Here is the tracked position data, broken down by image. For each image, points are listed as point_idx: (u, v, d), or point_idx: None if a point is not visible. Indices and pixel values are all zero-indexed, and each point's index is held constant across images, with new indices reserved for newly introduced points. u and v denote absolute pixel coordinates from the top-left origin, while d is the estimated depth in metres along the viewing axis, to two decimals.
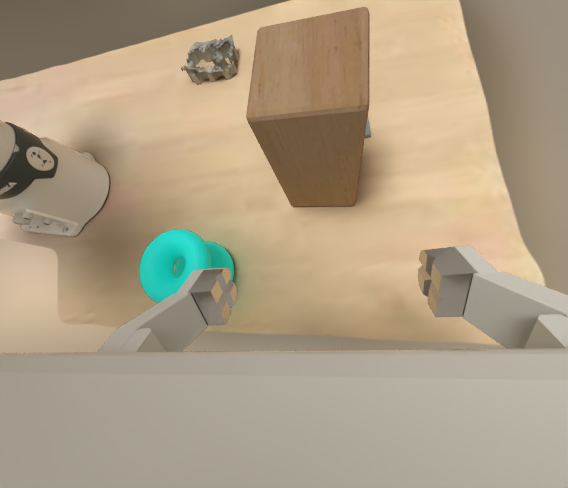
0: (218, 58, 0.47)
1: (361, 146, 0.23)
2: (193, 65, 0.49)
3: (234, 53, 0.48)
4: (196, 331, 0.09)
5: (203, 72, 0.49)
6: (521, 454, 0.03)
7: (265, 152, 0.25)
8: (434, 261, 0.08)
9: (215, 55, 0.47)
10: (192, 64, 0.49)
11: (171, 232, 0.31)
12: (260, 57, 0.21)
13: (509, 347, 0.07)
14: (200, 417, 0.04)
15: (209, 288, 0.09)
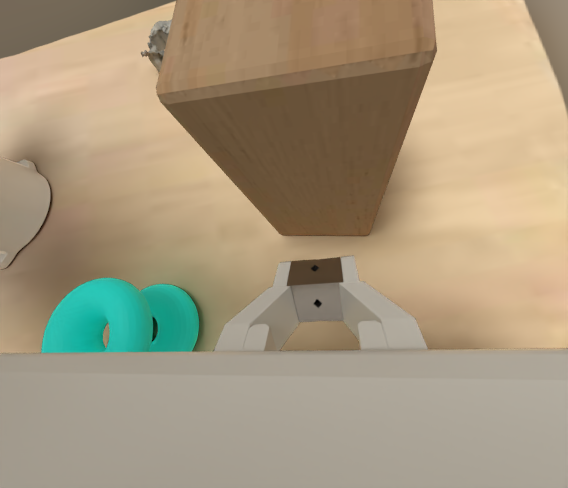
0: None
1: (397, 153, 0.12)
2: (157, 50, 0.39)
3: None
4: (291, 328, 0.09)
5: None
6: (521, 454, 0.03)
7: (219, 164, 0.14)
8: (317, 270, 0.09)
9: None
10: (156, 49, 0.39)
11: (91, 284, 0.20)
12: None
13: None
14: (200, 417, 0.04)
15: (310, 281, 0.08)
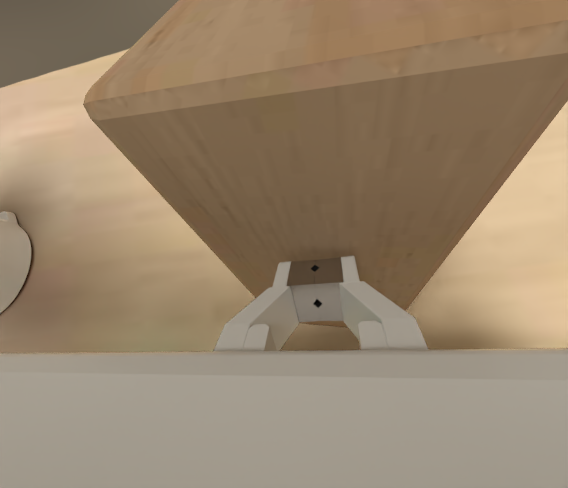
0: None
1: (466, 227, 0.07)
2: None
3: None
4: (291, 328, 0.09)
5: None
6: (521, 454, 0.03)
7: (192, 226, 0.09)
8: (317, 270, 0.09)
9: None
10: None
11: None
12: None
13: None
14: (200, 417, 0.04)
15: (310, 281, 0.08)
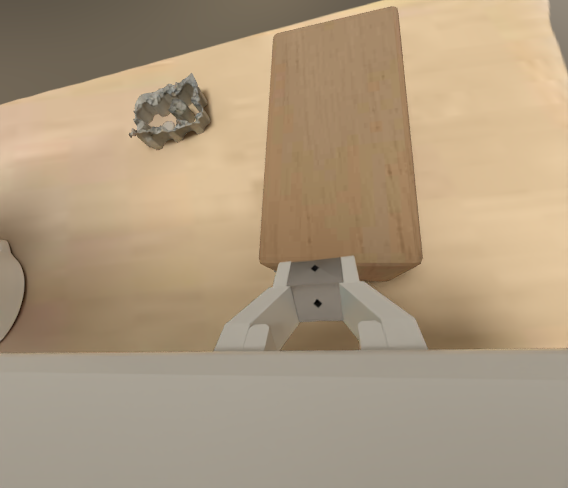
0: (180, 109, 0.32)
1: (401, 58, 0.17)
2: (145, 125, 0.34)
3: (200, 97, 0.33)
4: (291, 328, 0.09)
5: (162, 132, 0.33)
6: (521, 454, 0.03)
7: (272, 78, 0.19)
8: (317, 270, 0.09)
9: (174, 105, 0.32)
10: (143, 125, 0.34)
11: None
12: None
13: None
14: (200, 417, 0.04)
15: (310, 281, 0.08)
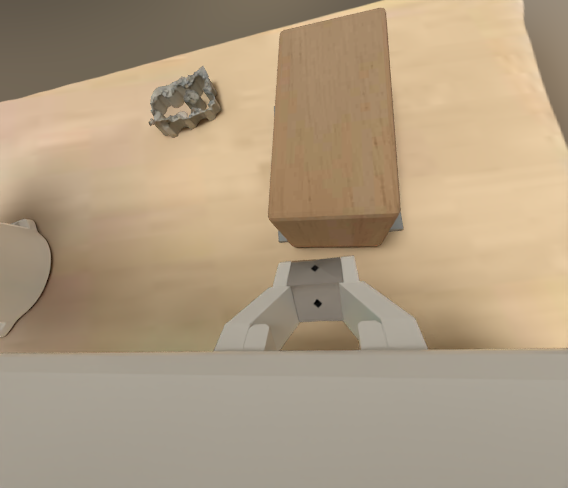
0: (193, 98, 0.36)
1: (387, 51, 0.20)
2: (161, 116, 0.38)
3: (211, 87, 0.37)
4: (291, 328, 0.09)
5: (178, 120, 0.37)
6: (521, 454, 0.03)
7: (279, 68, 0.23)
8: (316, 270, 0.09)
9: (188, 95, 0.36)
10: (160, 115, 0.37)
11: None
12: None
13: None
14: (200, 417, 0.04)
15: (310, 281, 0.08)
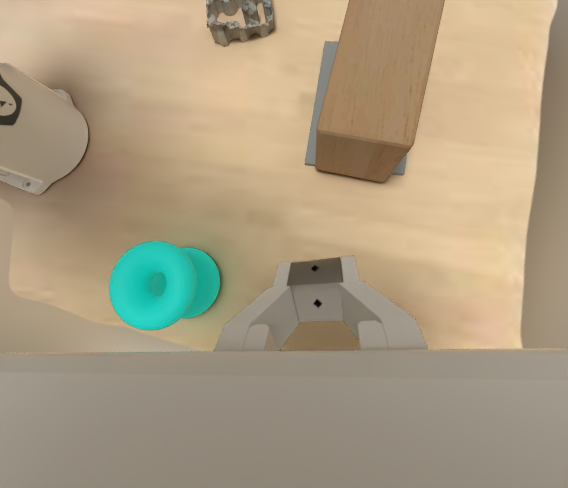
0: (252, 9, 0.37)
1: (440, 16, 0.25)
2: (216, 20, 0.39)
3: None
4: (291, 328, 0.09)
5: (232, 29, 0.38)
6: (521, 454, 0.03)
7: (351, 4, 0.26)
8: (317, 270, 0.09)
9: (247, 5, 0.37)
10: (215, 19, 0.39)
11: (155, 246, 0.26)
12: None
13: None
14: (200, 417, 0.04)
15: (310, 281, 0.08)
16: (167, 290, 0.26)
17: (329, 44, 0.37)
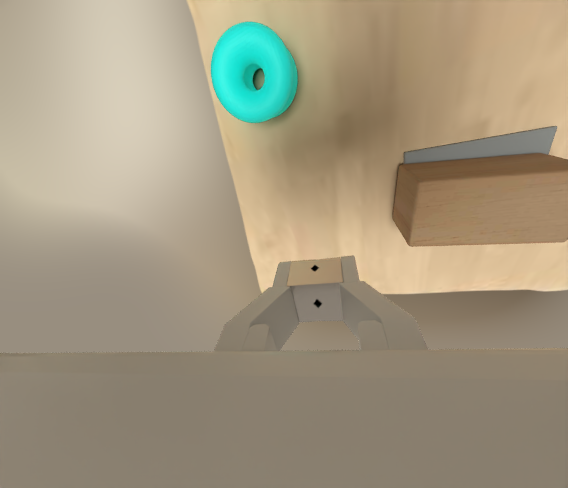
0: None
1: (522, 242, 0.33)
2: None
3: None
4: (291, 328, 0.09)
5: None
6: (521, 454, 0.03)
7: (556, 174, 0.28)
8: (317, 270, 0.09)
9: None
10: None
11: (284, 67, 0.27)
12: None
13: None
14: (200, 417, 0.04)
15: (310, 281, 0.08)
16: (253, 100, 0.29)
17: (551, 133, 0.34)
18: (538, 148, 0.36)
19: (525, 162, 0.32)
